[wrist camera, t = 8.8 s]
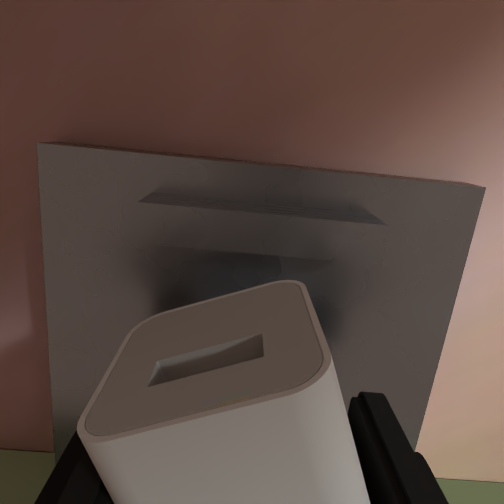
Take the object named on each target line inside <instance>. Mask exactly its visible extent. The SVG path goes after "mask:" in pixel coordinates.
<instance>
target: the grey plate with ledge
mask: <svg viewBox="0 0 504 504" xmlns="http://www.w3.org/2000/svg"><path fill="white" fill-rule="evenodd" d="M36 145H37V162H38V179H39V196H40V213H41V231H42V248H43V265H44V282H45V299H46V316H47V333H48V350H49V367H50V384H51V401H52V418H53V435H54V453H55V465H56V464H57V462H58V461H59V459H60V457H61V455H62V454H63V452H64V450H65V448H66V447H67V445H68V443H69V441H70V440H71V438H72V436H73V435H74V433H75V432H76V430H77V424H78V421H79V418H80V416H81V415H82V413H83V411H84V409H85V408H86V406H87V404H88V402H89V401H90V399H91V397H92V395H93V394H94V392H95V390H96V388H97V387H98V385H99V383H100V381H101V380H102V378H103V376H104V374H105V373H106V371H107V369H108V367H109V366H110V364H111V362H112V360H113V359H114V357H115V355H116V353H117V352H118V350H119V348H120V346H121V345H122V343H123V341H124V339H125V338H126V336H127V334H128V333H129V332H130V331H131V330H132V329H133V328H134V327H135V326H136V325H138V324H139V323H141V322H142V321H144V320H146V319H147V318H149V317H151V316H154V315H156V314H159V313H161V312H165V311H168V310H172V309H175V308H179V307H183V306H186V305H190V304H194V303H197V302H201V301H205V300H208V299H212V298H215V297H219V296H223V295H226V294H230V293H234V292H237V291H241V290H244V289H248V288H252V287H255V286H259V285H263V284H266V283H270V282H274V281H280V280H296V281H300V282H302V283H303V284H305V286H306V288H307V291H308V293H309V296H310V299H311V301H312V304H313V307H314V309H315V312H316V315H317V317H318V320H319V323H320V325H321V328H322V331H323V333H324V336H325V339H326V341H327V344H328V346H329V349H330V352H331V355H332V359H333V363H334V367H335V371H336V374H337V378H338V382H339V386H340V390H341V393H342V397H343V401H344V405H345V409H346V413H347V414H348V409H349V405H350V400H351V398H352V397H358V394H359V392H361V391H362V392H375V393H383V394H384V395H385V396H386V398H387V400H388V402H389V404H390V406H391V408H392V410H393V412H394V414H395V416H396V418H397V420H398V422H399V423H400V425H401V427H402V429H403V431H404V433H405V435H406V437H407V439H408V441H409V443H410V445H411V447H412V449H413V451H414V452H415V448H416V444H417V441H418V437H419V433H420V430H421V426H422V422H423V418H424V415H425V411H426V407H427V404H428V400H429V396H430V393H431V389H432V385H433V381H434V378H435V374H436V370H437V367H438V363H439V359H440V356H441V352H442V348H443V344H444V341H445V337H446V333H447V330H448V326H449V322H450V319H451V315H452V311H453V307H454V304H455V300H456V296H457V293H458V289H459V285H460V281H461V278H462V274H463V270H464V267H465V263H466V259H467V256H468V252H469V248H470V244H471V241H472V237H473V233H474V230H475V226H476V222H477V219H478V215H479V211H480V207H481V204H482V200H483V196H484V193H485V189H486V187H482V186H478V185H473V184H469V183H463V182H453V181H443V180H433V179H423V178H413V177H403V176H393V175H383V174H373V173H363V172H352V171H342V170H332V169H322V168H312V167H302V166H292V165H282V164H272V163H262V162H252V161H242V160H232V159H222V158H212V157H202V156H192V155H182V154H172V153H162V152H152V151H142V150H132V149H122V148H112V147H102V146H92V145H82V144H72V143H62V142H41V143H36Z"/></svg>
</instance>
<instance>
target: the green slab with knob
mask: <svg viewBox="0 0 504 504" xmlns="http://www.w3.org/2000/svg"><path fill="white" fill-rule="evenodd" d="M55 466H56V465H55V453H47V452H32V451H17V450H2V449H0V504H34V503H35V501H36V499H37V498H38V496H39V494H40V492H41V491H42V489H43V487H44V485H45V484H46V482H47V480H48V478H49V477H50V475H51V473H52V471H53V469H54V468H55ZM435 479H436V478H435ZM436 481H437V482H438V484H439V486H440V488H441V490H442V492H443V494H444V495H445V497H446V499H447V501H448V503H449V504H504V483H496V482H481V481H466V480H451V479H436Z"/></svg>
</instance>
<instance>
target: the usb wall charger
mask: <svg viewBox="0 0 504 504" xmlns="http://www.w3.org/2000/svg"><path fill="white" fill-rule="evenodd" d="M77 433H78V435H79V437H80V439H81V441H82V443H83V445H84V447H85V449H86V451H87V452H88V454H89V456H90V458H91V460H92V462H93V464H94V466H95V468H96V470H97V472H98V473H99V475H100V477H101V479H102V481H103V483H104V485H105V487H106V489H107V491H108V493H109V495H110V496H111V498H112V500H113V502H114V504H370V500H369V496H368V493H367V489H366V485H365V481H364V477H363V473H362V470H361V466H360V462H359V458H358V454H357V451H356V447H355V443H354V439H353V435H352V432H351V428H350V424H349V420H348V416H347V413H346V409H345V405H344V401H343V397H342V393H341V390H340V386H339V382H338V378H337V374H336V371H335V367H334V363H333V359H332V355H331V352H330V349H329V346H328V344H327V341H326V339H325V336H324V333H323V331H322V328H321V325H320V323H319V320H318V317H317V315H316V312H315V309H314V307H313V304H312V301H311V299H310V296H309V293H308V291H307V288H306V286H305V284H303V283H302V282H300V281H296V280H280V281H274V282H270V283H266V284H263V285H259V286H255V287H252V288H248V289H244V290H241V291H237V292H234V293H230V294H226V295H223V296H219V297H215V298H212V299H208V300H205V301H201V302H197V303H194V304H190V305H186V306H183V307H179V308H175V309H172V310H168V311H165V312H161V313H159V314H156V315H154V316H151V317H149V318H147V319H146V320H144V321H142V322H141V323H139V324H138V325H136V326H135V327H134V328H133V329H132V330H131V331H130V332H129V333H128V334H127V336H126V338H125V339H124V341H123V343H122V345H121V346H120V348H119V350H118V352H117V353H116V355H115V357H114V359H113V360H112V362H111V364H110V366H109V367H108V369H107V371H106V373H105V374H104V376H103V378H102V380H101V381H100V383H99V385H98V387H97V388H96V390H95V392H94V394H93V395H92V397H91V399H90V401H89V402H88V404H87V406H86V408H85V409H84V411H83V413H82V415H81V416H80V418H79V421H78V424H77Z"/></svg>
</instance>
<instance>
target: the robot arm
mask: <svg viewBox="0 0 504 504" xmlns="http://www.w3.org/2000/svg"><path fill="white" fill-rule="evenodd" d="M347 416H348V420H349V424H350V428H351V432H352V435H353V439H354V443H355V447H356V451H357V454H358V458H359V462H360V466H361V470H362V473H363V477H364V481H365V485H366V489H367V493H368V496H369V500H370V504H449V503H448V501H447V499H446V497H445V495H444V494H443V492H442V490H441V488H440V486H439V484H438V482H437V481H436V479H435V477H434V475H433V473H432V471H431V469H430V467H429V466H428V464H427V462H426V460H425V459H424V457H423V456H422V455H421V454H420V453H418V452H414V451H413V449H412V447H411V445H410V443H409V441H408V439H407V437H406V435H405V433H404V431H403V429H402V427H401V425H400V423H399V422H398V420H397V418H396V416H395V414H394V412H393V410H392V408H391V406H390V404H389V402H388V400H387V398H386V396H385V395H384V394H383V393H375V392H362V391H361V392H359V394H358V397H352V398H351V400H350V405H349V409H348V414H347ZM34 504H114V502H113V500H112V498H111V496H110V495H109V493H108V491H107V489H106V487H105V485H104V483H103V481H102V479H101V477H100V475H99V473H98V472H97V470H96V468H95V466H94V464H93V462H92V460H91V458H90V456H89V454H88V452H87V451H86V449H85V447H84V445H83V443H82V441H81V439H80V437H79V435H78V433H77V430H76V432H75V433H74V435H73V436H72V438H71V440H70V441H69V443H68V445H67V447H66V448H65V450H64V452H63V454H62V455H61V457H60V459H59V461H58V462H57V464H56V466H55V468H54V469H53V471H52V473H51V475H50V477H49V478H48V480H47V482H46V484H45V485H44V487H43V489H42V491H41V492H40V494H39V496H38V498H37V499H36V501H35V503H34Z"/></svg>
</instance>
